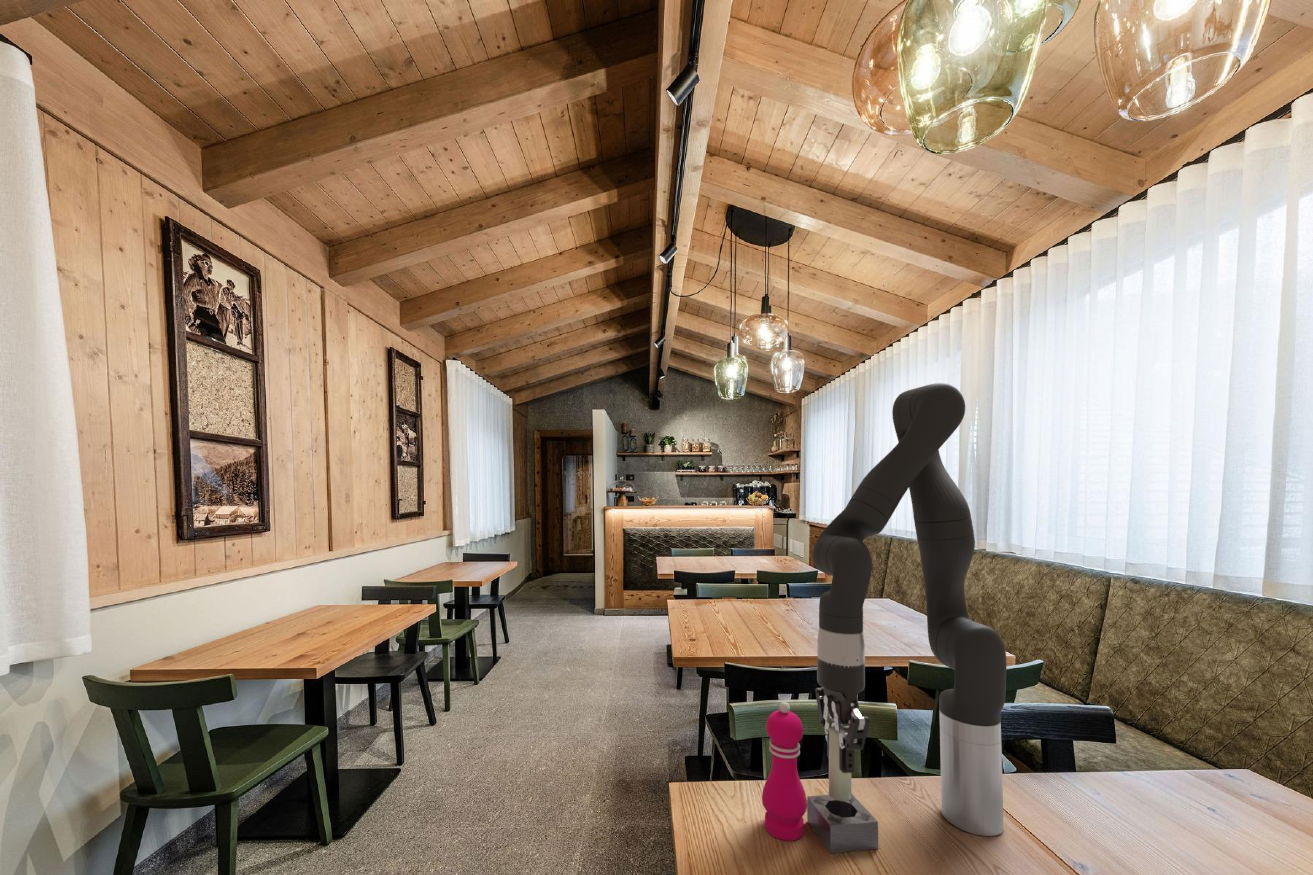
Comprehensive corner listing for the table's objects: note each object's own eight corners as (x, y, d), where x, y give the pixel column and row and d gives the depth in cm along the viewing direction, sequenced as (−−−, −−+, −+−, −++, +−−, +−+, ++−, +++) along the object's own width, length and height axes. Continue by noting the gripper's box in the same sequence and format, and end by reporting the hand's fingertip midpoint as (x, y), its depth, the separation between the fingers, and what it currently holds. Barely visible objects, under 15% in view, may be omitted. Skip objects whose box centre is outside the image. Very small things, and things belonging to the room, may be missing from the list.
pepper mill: (808, 846, 85) (808, 713, 86) (761, 839, 86) (762, 708, 88) (805, 818, 92) (805, 696, 93) (761, 812, 93) (762, 692, 95)
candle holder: (851, 817, 92) (851, 792, 93) (878, 848, 84) (877, 821, 85) (807, 821, 91) (807, 796, 91) (830, 853, 83) (830, 825, 83)
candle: (834, 786, 91) (835, 723, 92) (854, 795, 88) (855, 730, 89) (824, 794, 88) (825, 730, 89) (845, 803, 86) (845, 737, 87)
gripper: (886, 670, 84) (886, 787, 82) (840, 643, 98) (839, 743, 96) (841, 671, 83) (840, 790, 81) (801, 644, 96) (800, 745, 95)
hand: (840, 764), depth 89 cm, fingers closed on candle, 3 cm apart
